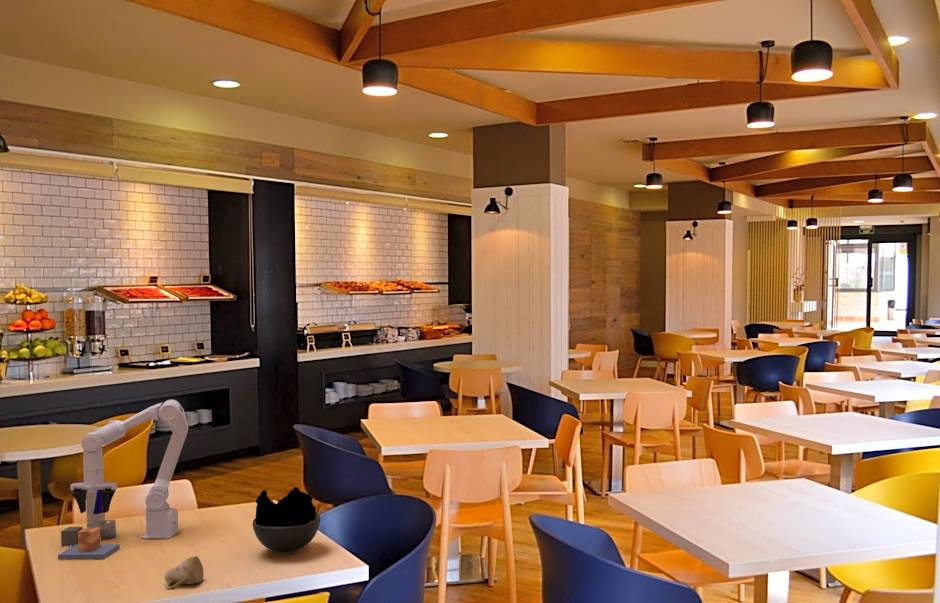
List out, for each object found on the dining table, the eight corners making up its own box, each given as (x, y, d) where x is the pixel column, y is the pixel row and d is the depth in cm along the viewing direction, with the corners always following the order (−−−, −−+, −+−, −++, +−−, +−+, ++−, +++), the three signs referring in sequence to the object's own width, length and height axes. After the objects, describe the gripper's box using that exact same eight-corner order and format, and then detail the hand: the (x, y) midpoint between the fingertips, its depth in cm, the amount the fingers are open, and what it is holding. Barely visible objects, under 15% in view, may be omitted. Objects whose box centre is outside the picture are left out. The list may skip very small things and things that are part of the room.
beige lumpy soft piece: (166, 580, 225) (184, 546, 227) (196, 597, 223) (214, 563, 225) (154, 583, 218) (173, 548, 219) (185, 600, 216) (204, 565, 218)
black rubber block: (83, 542, 262) (82, 526, 262) (75, 546, 257) (74, 531, 257) (69, 542, 262) (68, 527, 262) (61, 546, 257) (61, 531, 257)
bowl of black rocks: (334, 545, 252) (332, 484, 251) (294, 565, 234) (292, 500, 233) (281, 538, 260) (280, 479, 260) (239, 557, 242) (237, 494, 242)
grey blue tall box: (98, 535, 269) (97, 489, 269) (83, 534, 270) (82, 489, 270) (109, 530, 275) (107, 485, 274) (94, 529, 276) (93, 485, 276)
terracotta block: (100, 546, 251) (99, 527, 251) (93, 551, 247) (92, 531, 247) (86, 546, 251) (85, 527, 251) (78, 551, 247) (77, 531, 247)
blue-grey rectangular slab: (119, 548, 254) (119, 544, 254) (103, 559, 244) (103, 554, 244) (76, 549, 254) (75, 544, 254) (58, 559, 244) (57, 554, 244)
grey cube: (116, 533, 270) (114, 518, 270) (117, 537, 265) (115, 521, 265) (99, 536, 267) (98, 521, 268) (100, 540, 263) (99, 524, 263)
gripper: (64, 472, 258) (65, 515, 259) (109, 472, 258) (110, 515, 258) (76, 468, 265) (77, 509, 266) (120, 467, 265) (121, 509, 265)
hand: (94, 512), depth 262 cm, fingers open, 7 cm apart
